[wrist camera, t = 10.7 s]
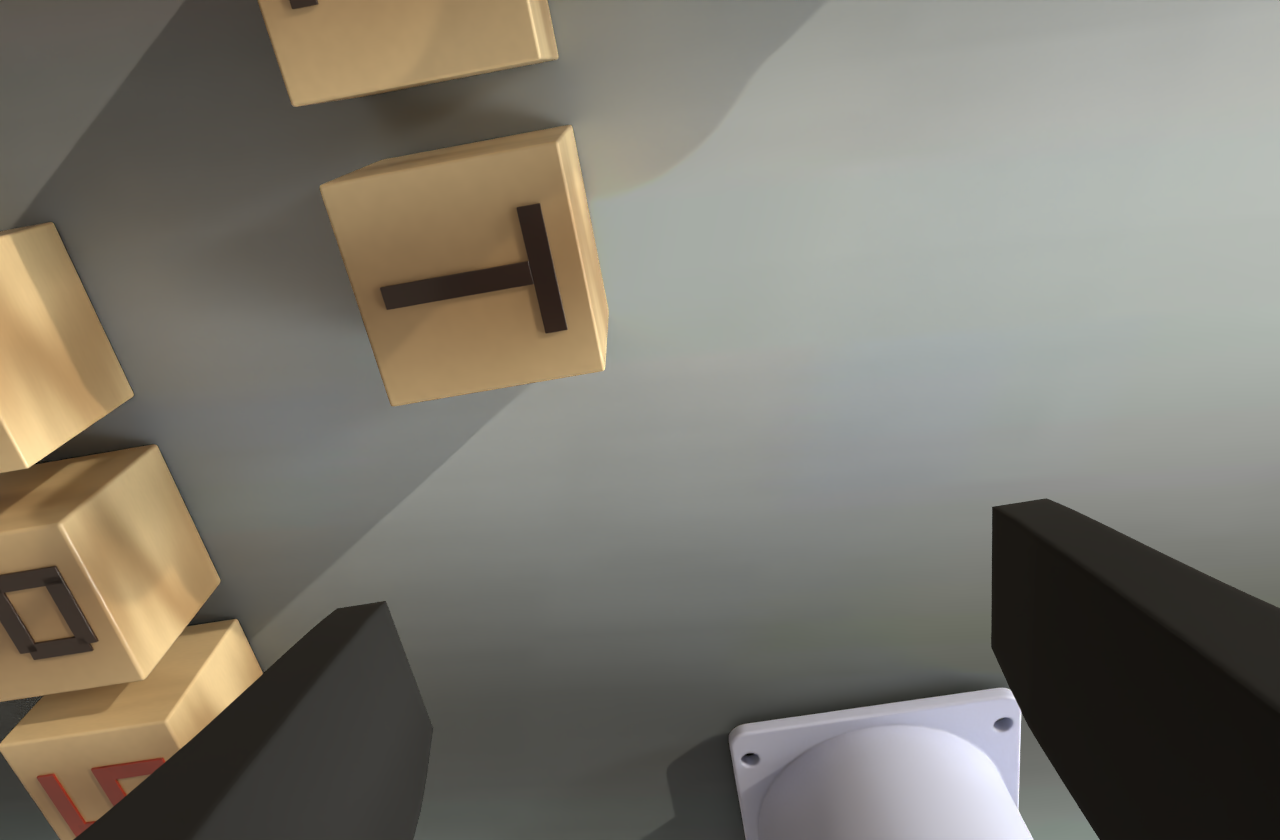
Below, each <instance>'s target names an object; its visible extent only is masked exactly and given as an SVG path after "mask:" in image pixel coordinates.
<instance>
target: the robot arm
mask: <svg viewBox="0 0 1280 840" xmlns="http://www.w3.org/2000/svg"><path fill="white" fill-rule="evenodd" d="M991 647H992V650H993V652H994V654H995V656H996V658H997V661H998V663H999V665H1000V667H1001V669H1002V672H1003V674H1004V676H1005V678H1006V680H1007V683H1008V685H1009V687H1010V689H1011V690H1010V689H1007V688H993V689H986V690H979V691H972V692H965V693H958V694H951V695H944V696H937V697H930V698H923V699H916V700H909V701H902V702H895V703H888V704H881V705H874V706H867V707H860V708H853V709H846V710H839V711H832V712H825V713H818V714H811V715H804V716H797V717H790V718H783V719H776V720H769V721H762V722H755V723H748V724H743V725H739V726H737V727H735V728H734V729H733V730H732V731H731V732H730V734H729V745H730V751H731V757H732V763H733V769H734V775H735V780H736V786H737V792H738V798H739V804H740V809H741V815H742V821H743V827H744V833H745V838H746V840H1033V838H1032V836H1031V834H1030V832H1029V830H1028V828H1027V826H1026V824H1025V822H1024V821H1023V819H1022V817H1021V815H1020V813H1019V811H1018V805H1019V769H1020V733H1021V712H1022V714H1023V716H1024V718H1025V720H1026V722H1027V724H1028V726H1029V728H1030V729H1031V731H1032V733H1033V734H1034V736H1035V738H1036V739H1037V741H1038V743H1039V744H1040V746H1041V747H1042V749H1043V751H1044V752H1045V754H1046V755H1047V757H1048V759H1049V760H1050V762H1051V763H1052V765H1053V767H1054V768H1055V770H1056V771H1057V773H1058V775H1059V776H1060V778H1061V779H1062V781H1063V783H1064V784H1065V786H1066V787H1067V789H1068V791H1069V792H1070V794H1071V795H1072V797H1073V798H1074V800H1075V802H1076V803H1077V805H1078V806H1079V808H1080V809H1081V811H1082V813H1083V814H1084V816H1085V817H1086V819H1087V820H1088V822H1089V823H1090V825H1091V827H1092V828H1093V830H1094V831H1095V833H1096V834H1097V836H1098V838H1099V839H1100V840H1280V608H1278V607H1276V606H1274V605H1271V604H1269V603H1267V602H1265V601H1262V600H1260V599H1258V598H1256V597H1254V596H1251V595H1249V594H1247V593H1245V592H1243V591H1240V590H1238V589H1236V588H1234V587H1232V586H1230V585H1228V584H1225V583H1223V582H1221V581H1219V580H1217V579H1215V578H1213V577H1211V576H1208V575H1206V574H1204V573H1202V572H1200V571H1198V570H1196V569H1194V568H1192V567H1190V566H1188V565H1185V564H1183V563H1181V562H1179V561H1177V560H1175V559H1173V558H1171V557H1169V556H1167V555H1165V554H1163V553H1161V552H1159V551H1157V550H1155V549H1153V548H1151V547H1149V546H1147V545H1144V544H1142V543H1140V542H1138V541H1136V540H1134V539H1132V538H1130V537H1128V536H1126V535H1124V534H1122V533H1120V532H1118V531H1116V530H1114V529H1112V528H1110V527H1108V526H1106V525H1104V524H1102V523H1100V522H1098V521H1096V520H1093V519H1091V518H1089V517H1087V516H1085V515H1083V514H1081V513H1079V512H1077V511H1075V510H1072V509H1070V508H1068V507H1066V506H1063V505H1061V504H1059V503H1056V502H1054V501H1051V500H1049V499H1040V500H1034V501H1027V502H1021V503H1014V504H1008V505H1001V506H995V507H992V635H991ZM1003 717H1004V718H1003ZM1000 718H1003V719H1002V720H999V721H997V720H998V719H1000ZM432 733H433V727H432V724H431V721H430V719H429V716H428V713H427V710H426V708H425V705H424V702H423V700H422V697H421V694H420V692H419V689H418V686H417V684H416V681H415V678H414V676H413V673H412V670H411V668H410V665H409V662H408V659H407V657H406V654H405V651H404V649H403V646H402V643H401V641H400V638H399V635H398V633H397V630H396V627H395V625H394V622H393V619H392V617H391V614H390V611H389V608H388V606H387V603H386V601H383V602H377V603H370V604H364V605H357V606H351V607H344V608H338V609H336V610H335V611H333V612H332V613H331V614H330V615H328V616H327V617H326V618H325V619H323V620H322V621H321V622H320V623H319V624H317V625H316V626H315V627H314V628H313V629H312V630H310V631H309V632H308V633H307V634H306V635H305V636H304V637H303V638H301V639H300V640H299V641H298V642H297V643H296V644H295V645H294V646H293V647H292V648H290V649H289V650H288V651H287V652H286V653H285V654H284V655H283V656H282V657H281V658H280V659H279V660H277V661H276V662H275V663H274V664H273V665H272V666H271V667H270V668H269V669H268V670H267V671H266V672H264V673H263V674H262V675H261V676H260V677H259V678H258V679H257V680H256V681H255V682H254V683H253V684H252V685H250V686H249V687H248V688H247V689H246V690H245V691H244V692H243V693H242V694H241V695H240V696H238V697H237V698H236V699H235V700H234V701H233V702H232V703H231V704H230V705H229V706H228V707H226V708H225V709H224V710H223V711H222V712H221V713H220V714H219V715H218V716H217V717H216V718H214V719H213V720H212V721H211V722H210V723H209V724H208V725H207V726H206V727H205V728H204V729H202V730H201V731H200V732H199V733H198V734H197V735H196V736H195V737H194V738H193V739H191V740H190V741H189V742H188V743H187V744H186V745H184V746H183V747H182V748H181V749H180V750H179V751H177V752H176V753H175V754H174V755H173V756H172V757H171V758H169V759H168V760H167V761H166V762H165V763H164V764H162V765H161V766H160V767H159V768H158V769H157V770H155V771H154V772H153V773H152V774H151V775H150V776H148V777H147V778H146V779H145V780H144V781H143V782H141V783H140V784H139V785H138V786H137V787H136V788H135V789H133V790H132V791H131V792H130V793H129V794H128V795H126V796H125V797H124V798H123V799H122V800H121V801H119V802H118V803H117V804H116V805H115V806H114V807H112V808H111V809H110V810H109V811H108V812H107V813H105V814H104V815H103V816H102V817H101V818H99V819H98V820H97V821H96V822H94V823H93V824H92V825H91V826H90V827H88V828H87V829H86V830H85V831H83V832H82V833H81V834H80V835H78V836H77V837H76V838H75V839H73V840H413V838H414V834H415V831H416V827H417V823H418V819H419V816H420V812H421V807H422V801H423V795H424V789H425V783H426V777H427V770H428V763H429V755H430V748H431V741H432ZM748 753H754V754H753V755H750V756H744V755H745V754H748Z"/></svg>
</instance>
